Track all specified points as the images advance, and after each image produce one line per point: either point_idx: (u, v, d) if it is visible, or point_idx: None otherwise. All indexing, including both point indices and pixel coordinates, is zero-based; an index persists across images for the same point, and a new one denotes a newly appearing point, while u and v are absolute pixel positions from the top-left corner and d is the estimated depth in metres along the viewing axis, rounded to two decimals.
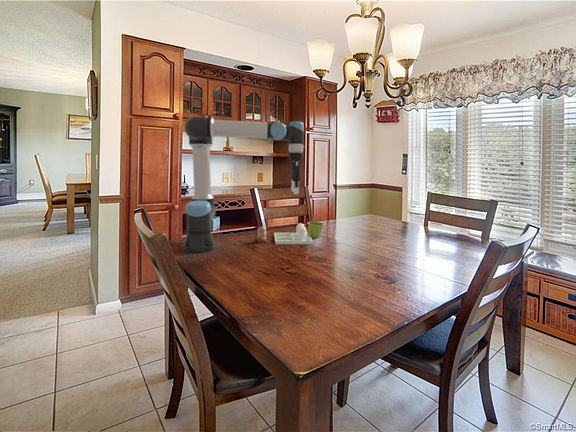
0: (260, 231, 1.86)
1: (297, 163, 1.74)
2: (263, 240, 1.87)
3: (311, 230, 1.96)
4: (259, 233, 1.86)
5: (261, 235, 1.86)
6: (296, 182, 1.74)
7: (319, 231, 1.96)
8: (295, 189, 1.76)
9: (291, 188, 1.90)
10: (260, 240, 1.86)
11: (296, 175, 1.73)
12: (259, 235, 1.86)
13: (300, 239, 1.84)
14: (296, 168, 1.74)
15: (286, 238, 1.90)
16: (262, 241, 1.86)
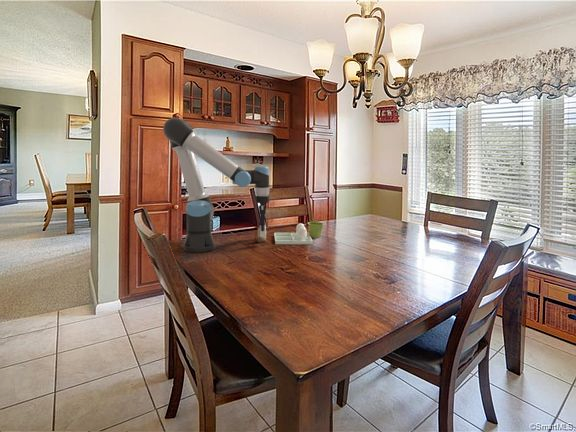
0: None
1: (262, 207, 1.79)
2: (263, 240, 1.87)
3: (311, 230, 1.96)
4: (259, 233, 1.86)
5: None
6: (262, 226, 1.79)
7: (319, 231, 1.96)
8: (261, 232, 1.81)
9: None
10: (260, 240, 1.86)
11: (261, 219, 1.77)
12: (259, 235, 1.86)
13: (300, 239, 1.84)
14: (261, 212, 1.78)
15: (286, 238, 1.90)
16: (262, 241, 1.86)
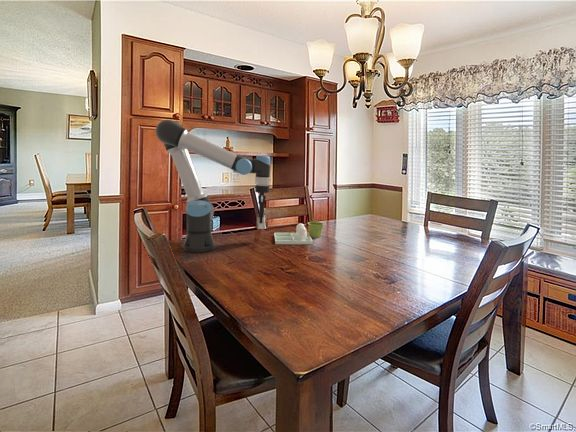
0: None
1: (262, 200, 1.78)
2: None
3: (311, 230, 1.96)
4: None
5: None
6: (260, 218, 1.82)
7: (319, 231, 1.96)
8: (260, 224, 1.84)
9: None
10: None
11: (260, 212, 1.80)
12: None
13: (300, 239, 1.84)
14: (261, 205, 1.79)
15: (286, 238, 1.90)
16: None
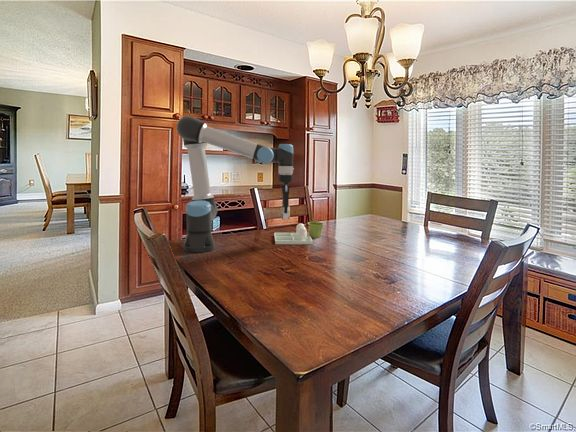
0: None
1: (286, 189, 1.74)
2: None
3: (311, 230, 1.96)
4: None
5: None
6: (285, 208, 1.78)
7: (319, 231, 1.96)
8: (284, 214, 1.80)
9: None
10: None
11: (285, 202, 1.76)
12: None
13: (300, 239, 1.84)
14: (285, 194, 1.75)
15: (286, 238, 1.90)
16: None
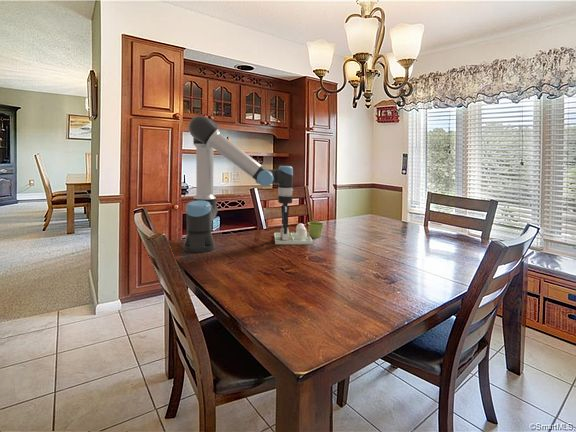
0: None
1: (286, 210, 1.76)
2: (286, 240, 1.84)
3: (311, 230, 1.96)
4: (282, 233, 1.83)
5: None
6: (285, 228, 1.79)
7: (319, 231, 1.96)
8: (284, 235, 1.81)
9: None
10: (283, 240, 1.83)
11: (285, 222, 1.77)
12: None
13: (300, 239, 1.84)
14: (285, 215, 1.77)
15: None
16: None
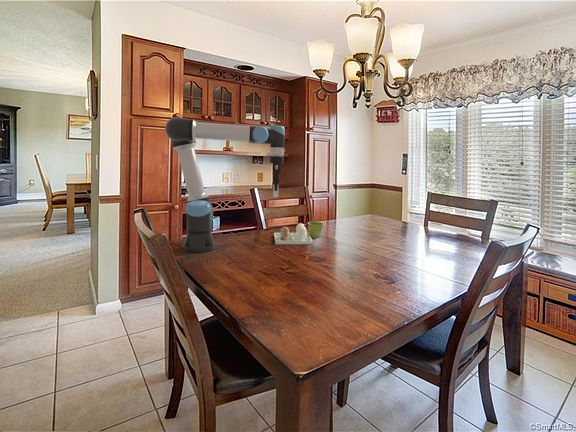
0: (283, 231, 1.83)
1: (277, 166, 1.77)
2: (286, 240, 1.84)
3: (311, 230, 1.96)
4: (282, 233, 1.83)
5: (284, 236, 1.83)
6: (275, 185, 1.77)
7: (319, 231, 1.96)
8: (274, 192, 1.79)
9: None
10: (283, 240, 1.83)
11: (275, 178, 1.75)
12: (282, 235, 1.83)
13: (300, 239, 1.84)
14: (276, 171, 1.77)
15: None
16: None
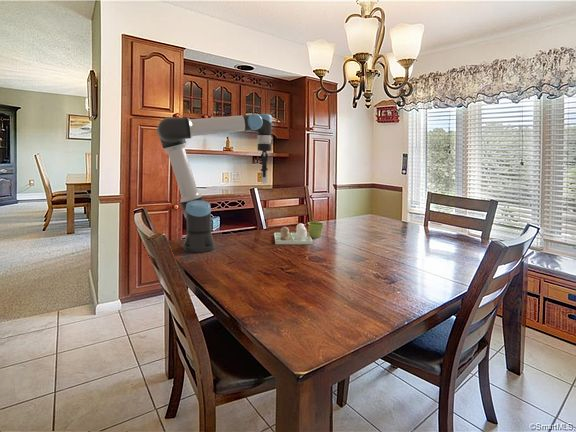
0: (283, 231, 1.83)
1: (264, 154, 1.83)
2: (286, 240, 1.84)
3: (311, 230, 1.96)
4: (282, 233, 1.83)
5: (284, 236, 1.83)
6: (264, 172, 1.83)
7: (319, 231, 1.96)
8: (263, 178, 1.85)
9: None
10: (283, 240, 1.83)
11: (263, 165, 1.81)
12: (282, 235, 1.83)
13: (300, 239, 1.84)
14: (263, 158, 1.82)
15: None
16: None
